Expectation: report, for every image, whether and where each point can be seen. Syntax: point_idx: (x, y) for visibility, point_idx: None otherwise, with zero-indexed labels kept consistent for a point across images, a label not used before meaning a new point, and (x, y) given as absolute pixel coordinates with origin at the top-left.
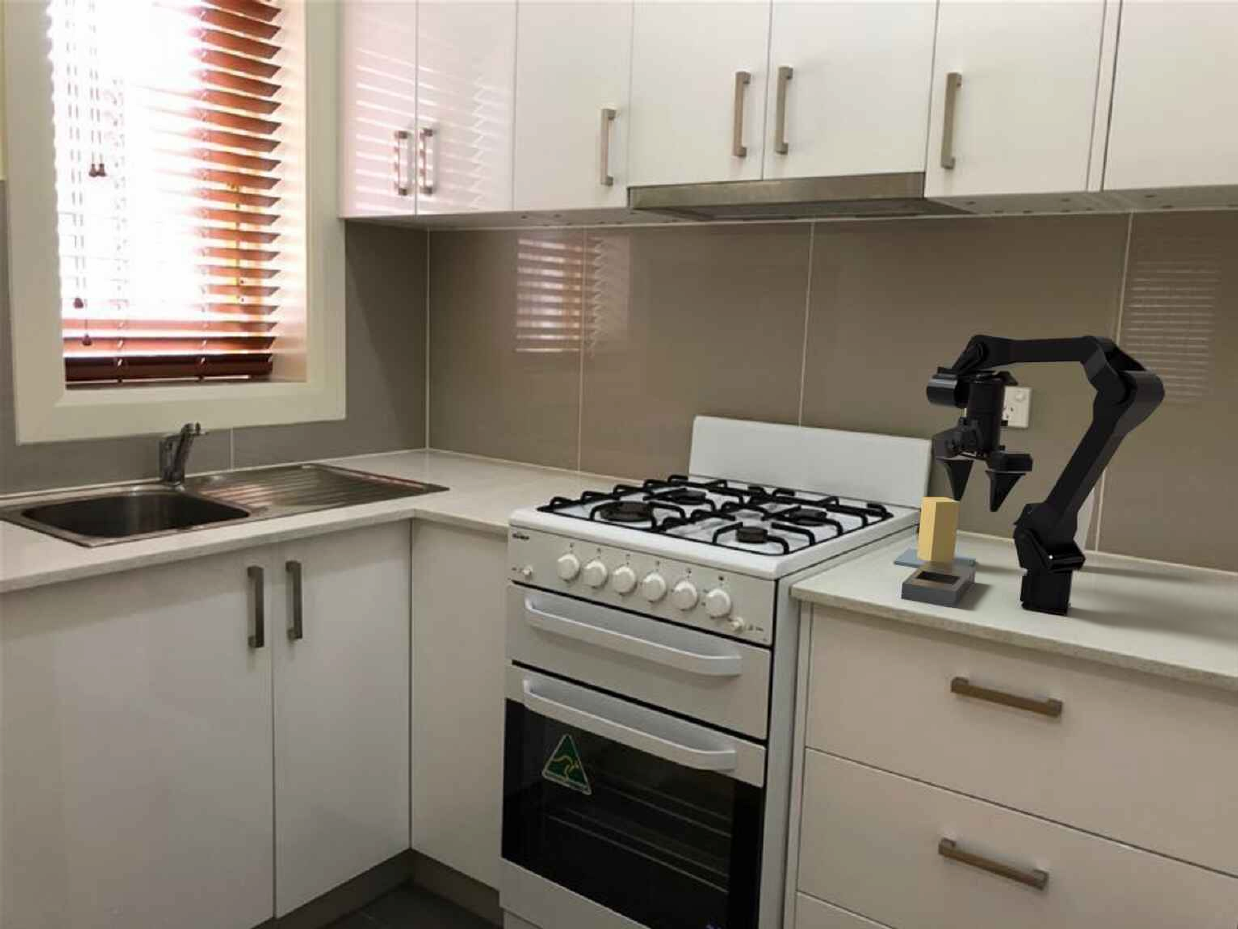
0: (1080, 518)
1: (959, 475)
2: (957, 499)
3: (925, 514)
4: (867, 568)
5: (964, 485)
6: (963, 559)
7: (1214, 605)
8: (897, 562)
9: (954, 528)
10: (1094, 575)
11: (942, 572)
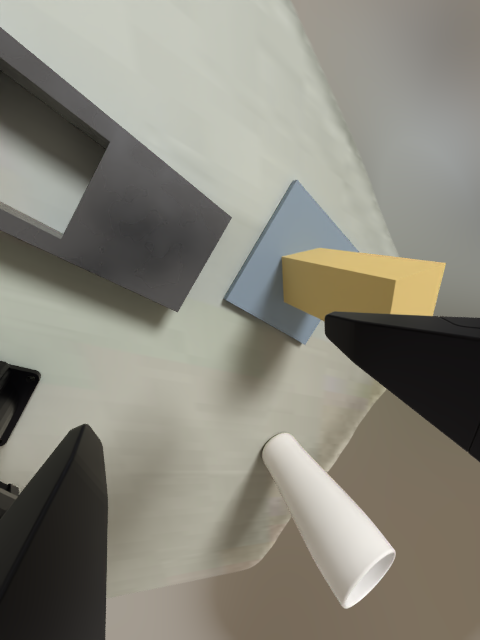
0: (302, 531)
1: (454, 381)
2: (328, 324)
3: (385, 261)
4: (261, 83)
5: (384, 379)
6: (299, 324)
7: (108, 588)
8: (291, 187)
9: None
10: (239, 473)
11: (102, 201)
